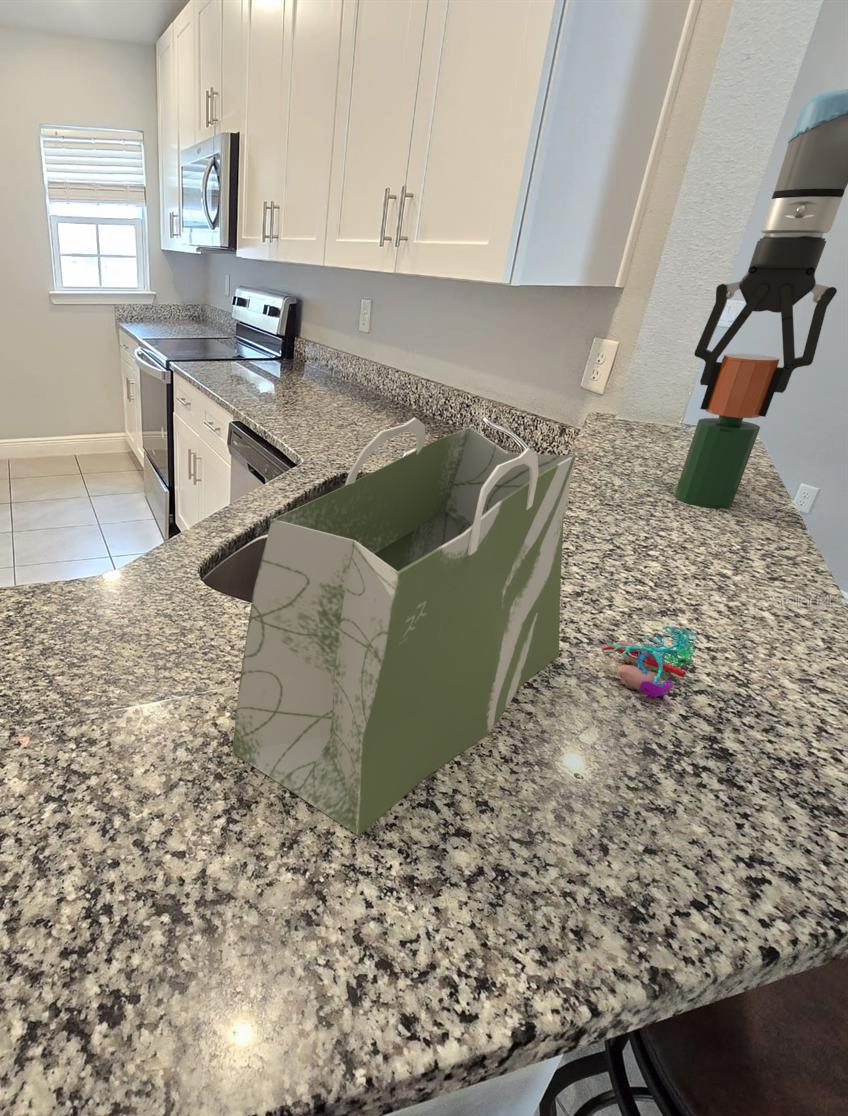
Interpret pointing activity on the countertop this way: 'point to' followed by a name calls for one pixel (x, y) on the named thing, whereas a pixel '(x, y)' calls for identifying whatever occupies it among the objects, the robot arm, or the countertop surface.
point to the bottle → (716, 461)
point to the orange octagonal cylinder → (742, 385)
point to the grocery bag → (400, 619)
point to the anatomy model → (653, 661)
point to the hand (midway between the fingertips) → (732, 411)
